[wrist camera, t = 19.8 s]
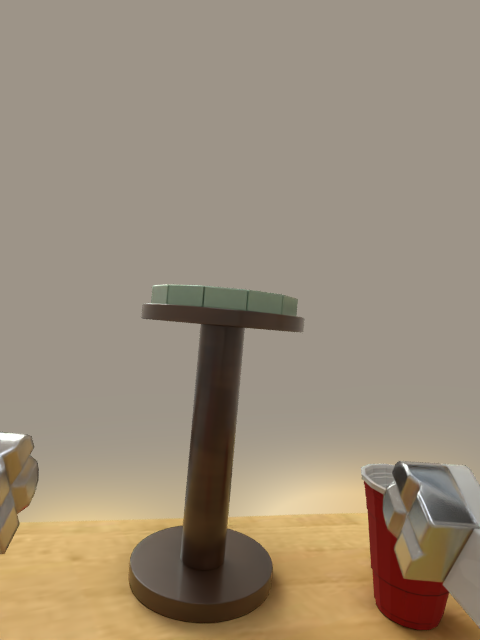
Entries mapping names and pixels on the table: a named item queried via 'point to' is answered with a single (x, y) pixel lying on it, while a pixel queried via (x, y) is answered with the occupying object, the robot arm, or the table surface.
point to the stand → (208, 486)
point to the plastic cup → (396, 564)
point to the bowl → (224, 298)
